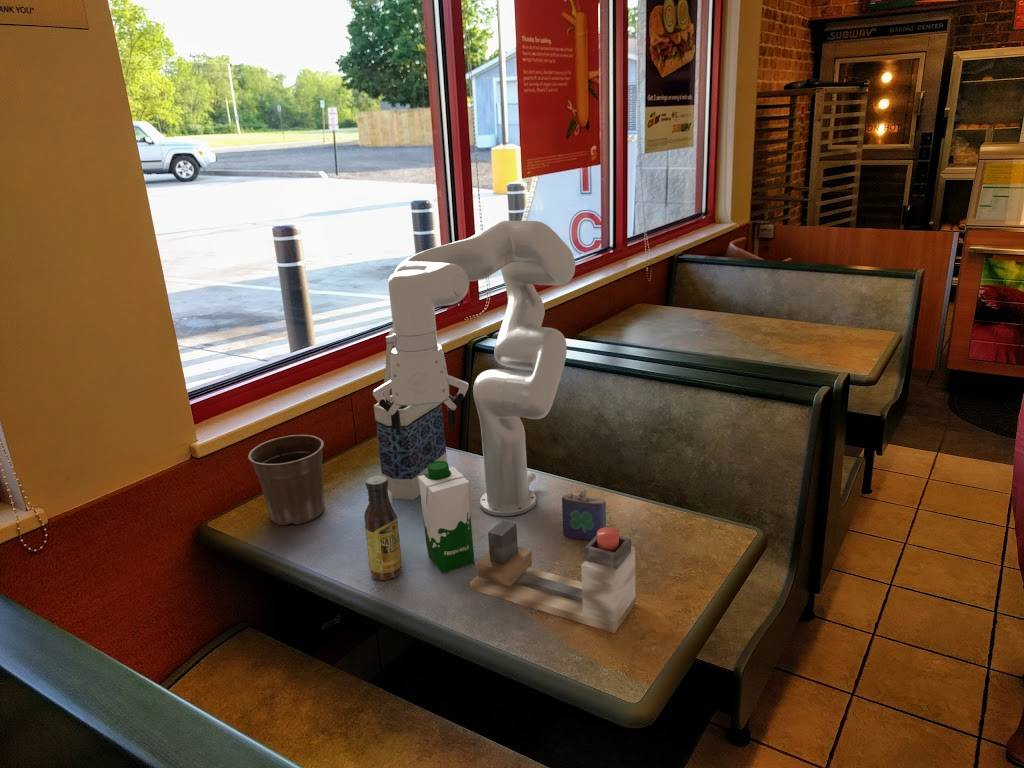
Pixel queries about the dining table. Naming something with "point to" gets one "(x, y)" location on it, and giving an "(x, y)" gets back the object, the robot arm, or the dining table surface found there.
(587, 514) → the flask
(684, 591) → the dining table surface
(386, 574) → the sauce bottle
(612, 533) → the red dome button
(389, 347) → the bag
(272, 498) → the plant pot
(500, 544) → the carriage
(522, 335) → the robot arm
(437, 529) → the milk carton
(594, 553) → the rail
